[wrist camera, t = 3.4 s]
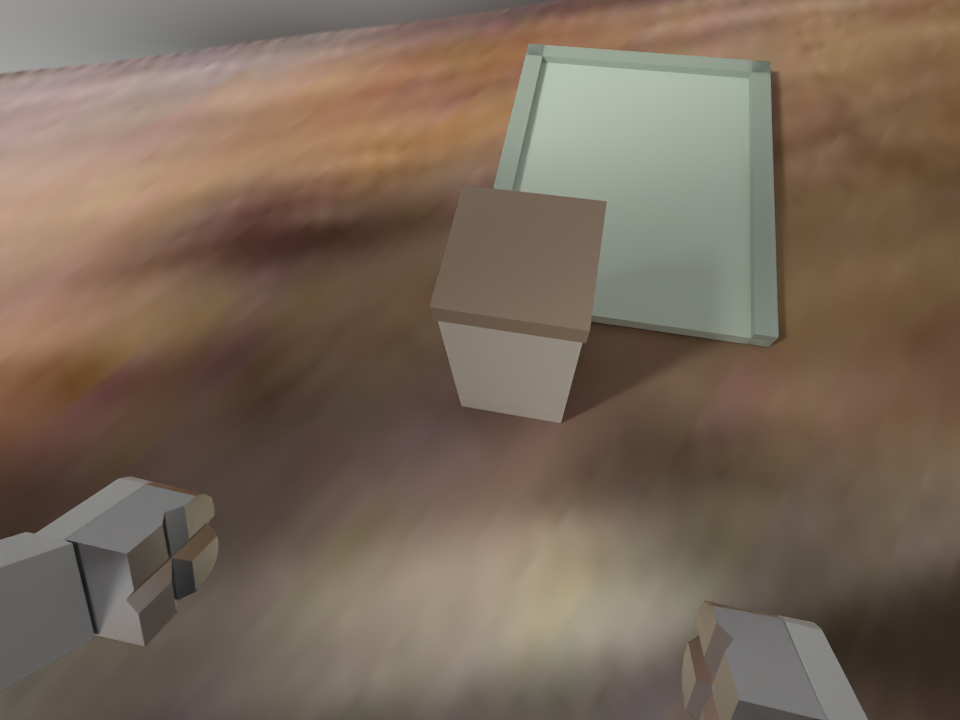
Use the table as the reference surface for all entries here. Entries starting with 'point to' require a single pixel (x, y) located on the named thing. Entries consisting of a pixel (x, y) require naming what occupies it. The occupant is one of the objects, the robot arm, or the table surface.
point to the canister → (517, 297)
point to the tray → (659, 181)
